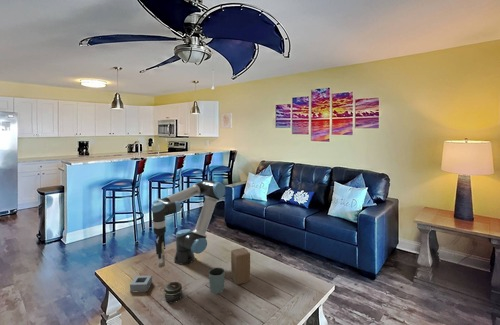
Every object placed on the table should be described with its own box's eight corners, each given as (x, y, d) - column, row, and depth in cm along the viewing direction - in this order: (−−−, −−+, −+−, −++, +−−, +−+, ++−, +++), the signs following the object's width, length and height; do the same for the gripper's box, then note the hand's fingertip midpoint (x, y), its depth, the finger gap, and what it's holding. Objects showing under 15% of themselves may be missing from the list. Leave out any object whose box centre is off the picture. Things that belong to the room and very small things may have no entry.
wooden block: (237, 285, 172) (236, 256, 170) (230, 278, 181) (230, 249, 179) (250, 281, 177) (250, 252, 174) (244, 274, 186) (244, 246, 183)
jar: (168, 292, 165) (168, 280, 164) (184, 293, 164) (184, 281, 163) (161, 303, 155) (161, 290, 154) (178, 304, 154) (178, 291, 153)
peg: (165, 264, 178) (164, 241, 175) (164, 267, 174) (162, 243, 172) (159, 264, 177) (158, 241, 175) (157, 267, 174) (156, 244, 171)
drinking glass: (211, 295, 162) (210, 277, 160) (207, 286, 171) (206, 269, 169) (227, 291, 166) (227, 273, 164) (222, 283, 175) (222, 265, 173)
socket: (152, 282, 175) (151, 275, 175) (146, 291, 165) (146, 284, 165) (136, 283, 175) (136, 275, 174) (130, 292, 165) (129, 284, 164)
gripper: (157, 222, 180) (159, 254, 183) (149, 232, 163) (151, 267, 167) (168, 221, 180) (170, 254, 184) (161, 231, 164) (163, 267, 167)
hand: (161, 260), depth 175 cm, fingers closed on peg, 4 cm apart
